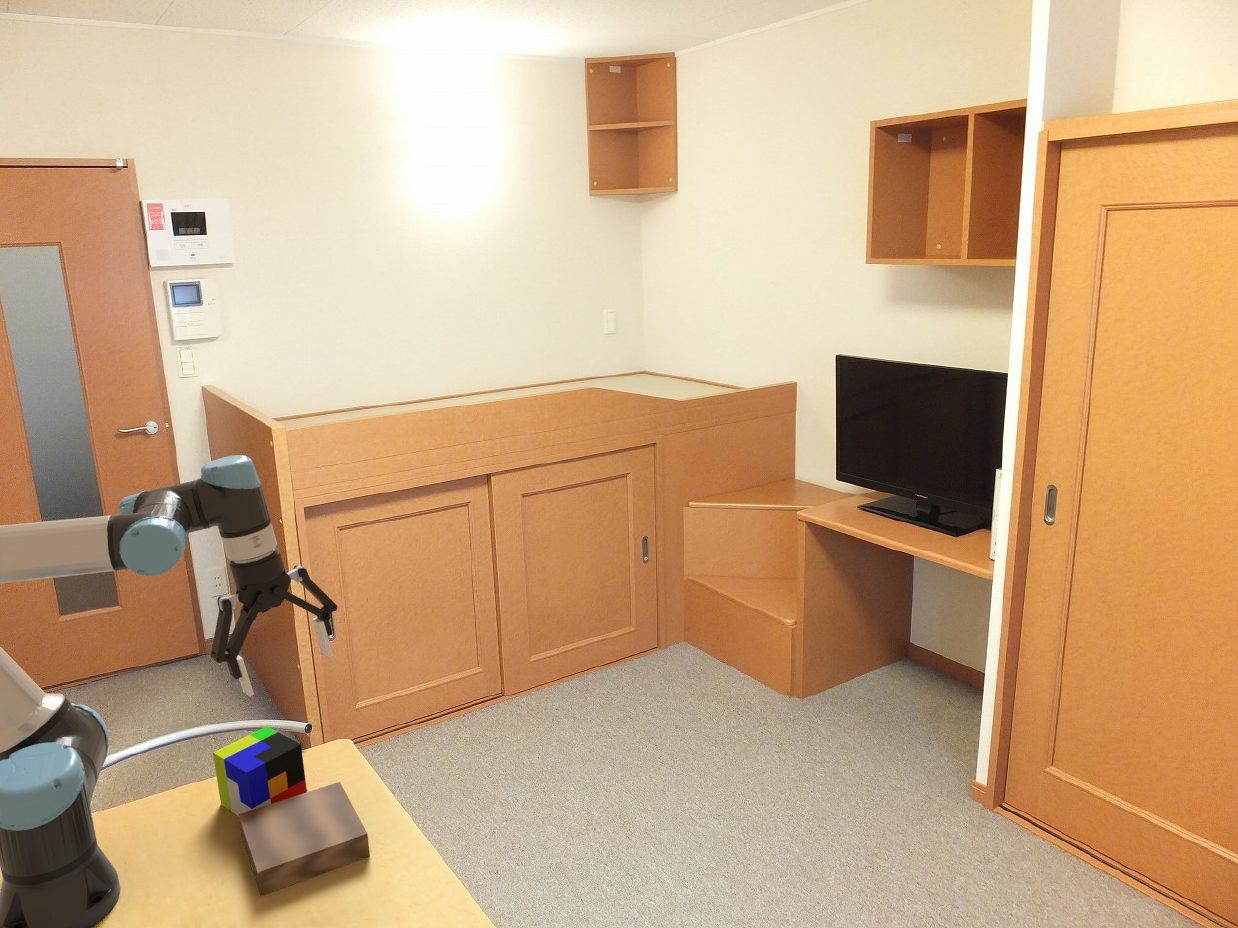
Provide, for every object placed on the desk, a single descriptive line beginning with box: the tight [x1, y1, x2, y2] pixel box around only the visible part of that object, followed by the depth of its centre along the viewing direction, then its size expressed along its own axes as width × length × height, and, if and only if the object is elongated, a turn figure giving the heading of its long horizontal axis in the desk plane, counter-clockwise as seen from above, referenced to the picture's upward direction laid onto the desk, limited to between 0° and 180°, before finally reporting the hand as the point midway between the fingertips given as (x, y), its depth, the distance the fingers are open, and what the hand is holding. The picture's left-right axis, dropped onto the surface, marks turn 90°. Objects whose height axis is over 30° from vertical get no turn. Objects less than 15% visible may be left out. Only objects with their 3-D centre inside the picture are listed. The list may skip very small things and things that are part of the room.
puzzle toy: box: [212, 725, 308, 817], centre depth 156 cm, size 10×10×10 cm
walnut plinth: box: [237, 781, 371, 897], centre depth 145 cm, size 16×16×4 cm
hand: (289, 673), depth 150 cm, fingers open, 13 cm apart
